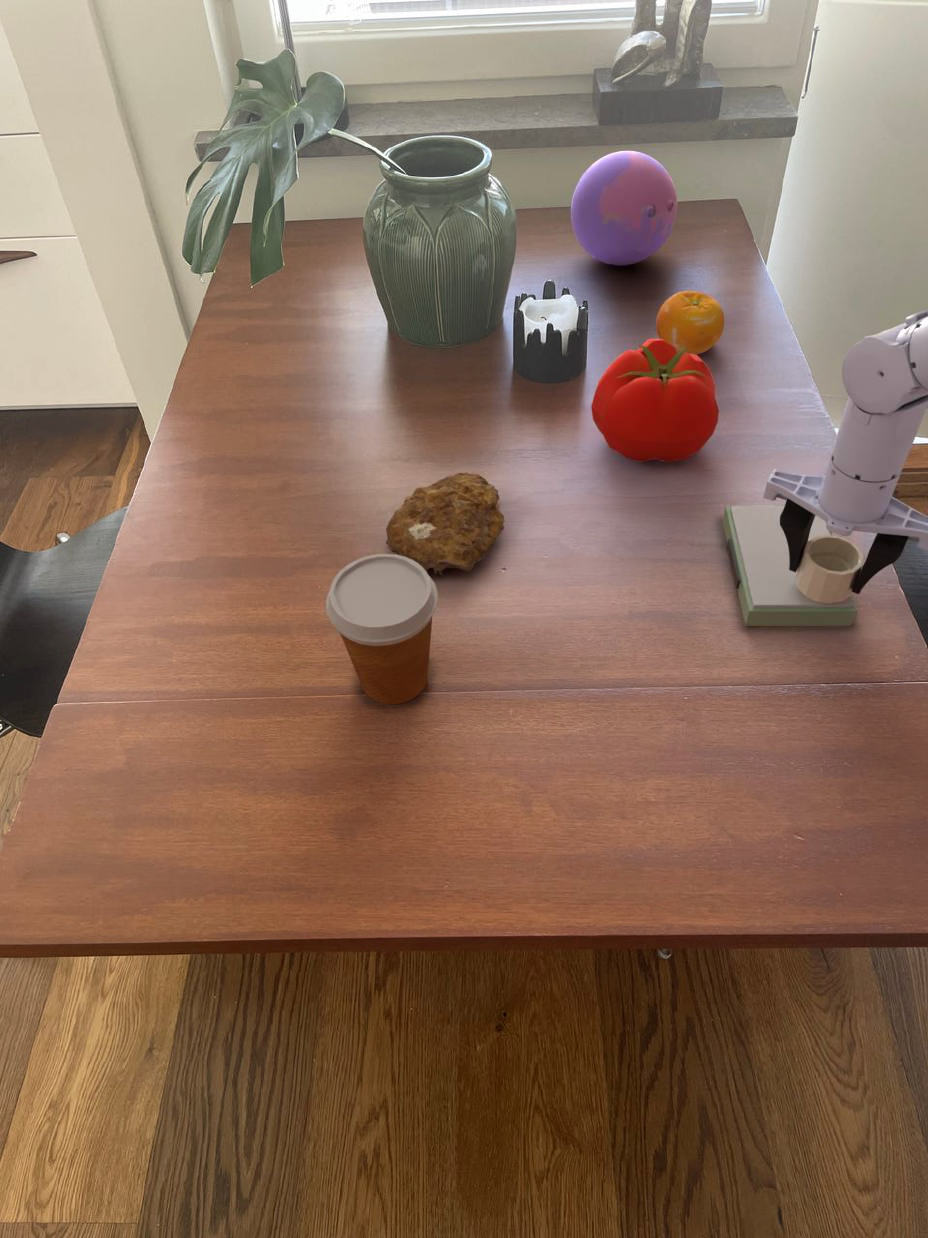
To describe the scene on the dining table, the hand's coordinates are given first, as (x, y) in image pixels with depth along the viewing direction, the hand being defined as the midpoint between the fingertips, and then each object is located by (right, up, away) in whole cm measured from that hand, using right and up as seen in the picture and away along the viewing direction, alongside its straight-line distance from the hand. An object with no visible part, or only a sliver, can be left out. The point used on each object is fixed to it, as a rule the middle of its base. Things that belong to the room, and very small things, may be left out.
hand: (825, 575), depth 87 cm
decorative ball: (-11, +50, +51) cm, 72 cm away
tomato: (-12, +16, +21) cm, 29 cm away
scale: (-2, +1, +6) cm, 7 cm away
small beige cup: (0, -1, +1) cm, 2 cm away
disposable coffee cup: (-41, -10, 0) cm, 42 cm away
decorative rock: (-36, +5, +13) cm, 38 cm away
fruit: (-5, +32, +35) cm, 47 cm away
